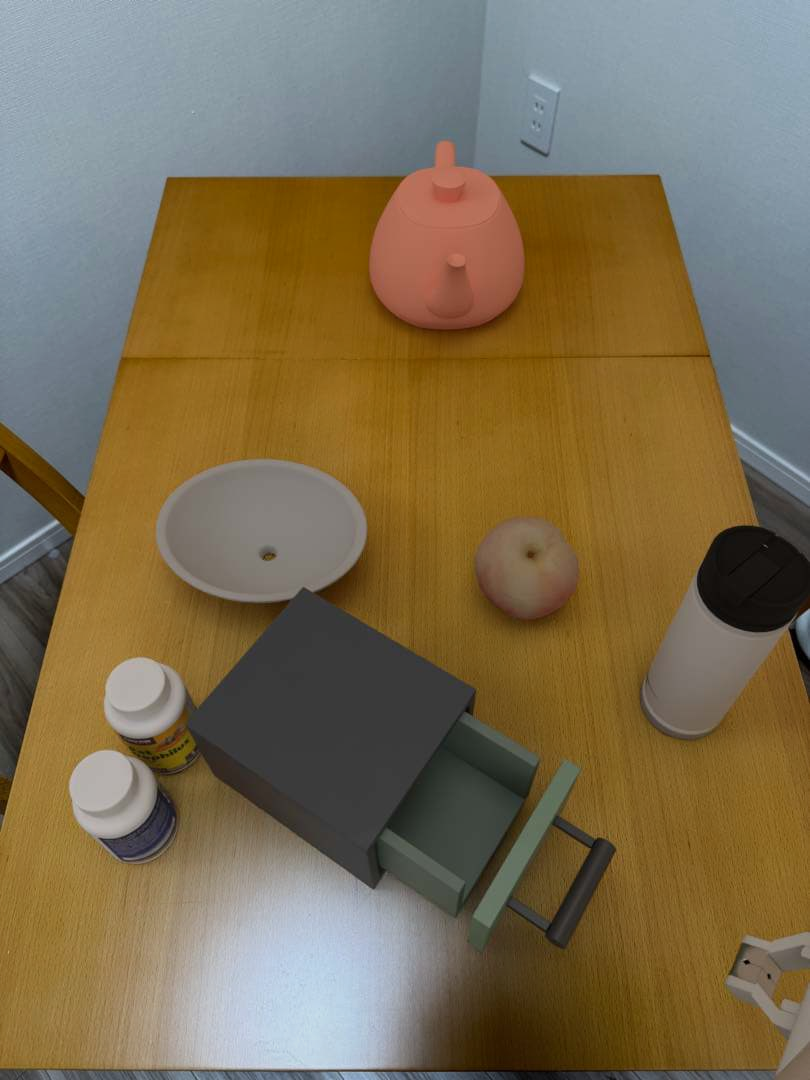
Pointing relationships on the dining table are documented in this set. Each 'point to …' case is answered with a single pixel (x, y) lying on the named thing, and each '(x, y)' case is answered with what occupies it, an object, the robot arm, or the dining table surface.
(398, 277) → the teapot
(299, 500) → the dish
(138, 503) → the dining table surface
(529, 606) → the fruit
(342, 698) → the cabinet
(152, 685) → the supplement bottle
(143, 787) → the pill bottle
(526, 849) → the drawer
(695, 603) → the travel mug
